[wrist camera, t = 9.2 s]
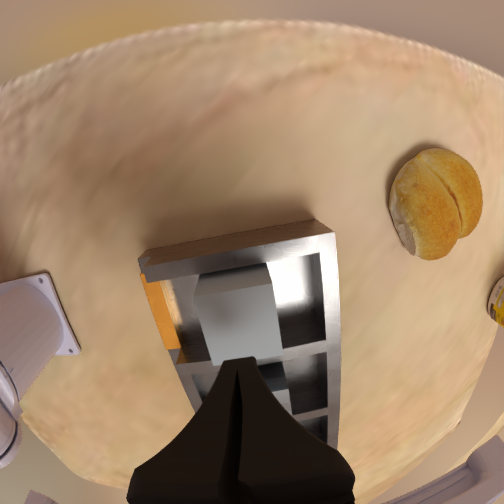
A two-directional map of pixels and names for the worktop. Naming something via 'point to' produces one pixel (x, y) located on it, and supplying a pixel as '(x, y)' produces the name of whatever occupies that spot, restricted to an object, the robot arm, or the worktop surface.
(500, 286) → the supplement bottle
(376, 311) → the worktop surface
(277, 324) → the grey block
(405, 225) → the bread roll
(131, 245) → the worktop surface
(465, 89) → the worktop surface
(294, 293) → the rack
